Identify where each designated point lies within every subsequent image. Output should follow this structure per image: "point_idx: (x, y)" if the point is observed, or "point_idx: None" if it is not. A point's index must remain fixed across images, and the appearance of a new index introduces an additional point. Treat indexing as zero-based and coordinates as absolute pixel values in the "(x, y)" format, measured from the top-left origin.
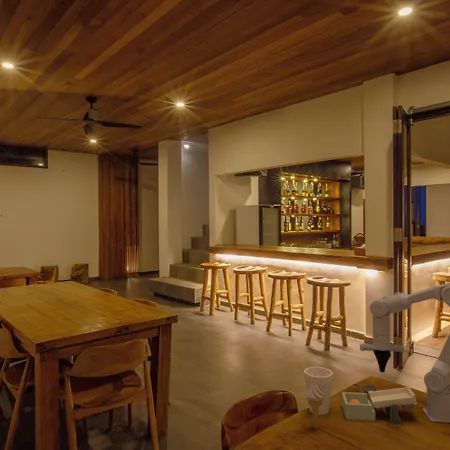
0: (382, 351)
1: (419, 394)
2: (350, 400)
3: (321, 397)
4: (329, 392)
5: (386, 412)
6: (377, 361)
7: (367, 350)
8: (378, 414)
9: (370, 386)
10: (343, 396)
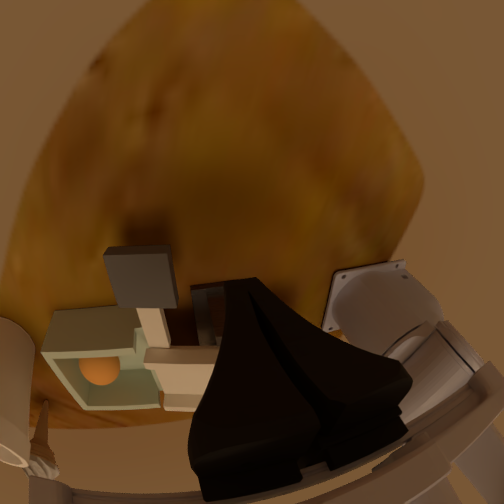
0: (317, 453)
1: (382, 139)
2: (84, 375)
3: (57, 475)
4: (28, 409)
5: (204, 332)
6: (224, 333)
7: (124, 499)
8: (176, 333)
9: (148, 266)
10: (59, 377)
